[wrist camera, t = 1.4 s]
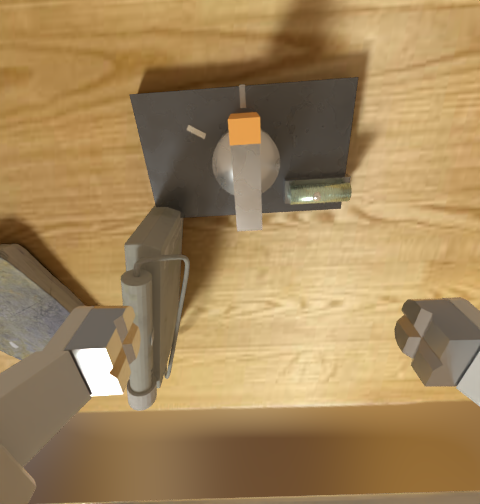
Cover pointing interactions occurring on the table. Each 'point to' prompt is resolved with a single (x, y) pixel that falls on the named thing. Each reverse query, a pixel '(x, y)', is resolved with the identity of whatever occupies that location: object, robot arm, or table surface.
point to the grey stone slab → (29, 303)
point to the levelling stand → (271, 120)
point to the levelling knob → (246, 166)
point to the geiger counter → (154, 299)
